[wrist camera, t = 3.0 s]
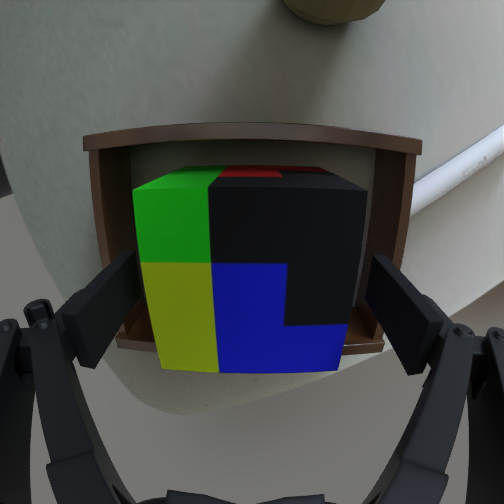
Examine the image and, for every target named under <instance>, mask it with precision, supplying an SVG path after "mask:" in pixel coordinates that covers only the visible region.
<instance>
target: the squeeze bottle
mask: <svg viewBox="0 0 504 504" xmlns="http://www.w3.org/2000/svg"><path fill="white" fill-rule="evenodd" d="M283 1H284V2H285V4H286V5H287V7H288V8H289V9H290V10H291V11H293V12H294V13H295V14H296V15H297V16H298V17H300V18H303V19H305V20H307V21H309V22H312V23H316V24H323V25H332V24H338V23H344V22H349V21H355V20H362V19H365V18H366V17H368V16H370V15H371V14H373V13H375V12H376V11H378V10H379V8H380V7H381V6H382V4H383V3H384V1H385V0H283Z"/></svg>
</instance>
